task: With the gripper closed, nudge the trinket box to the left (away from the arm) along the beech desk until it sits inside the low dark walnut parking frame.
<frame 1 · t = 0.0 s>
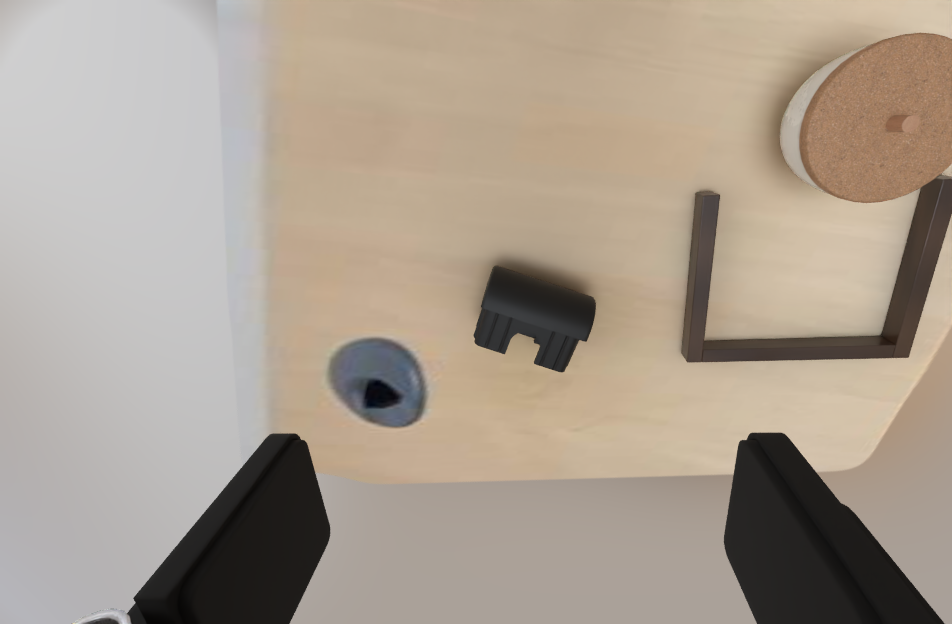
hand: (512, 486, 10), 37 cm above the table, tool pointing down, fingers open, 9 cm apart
end cap: (532, 301, 48), on the table
trinket box: (825, 122, 39), on the table
parking frame: (798, 273, 44), on the table
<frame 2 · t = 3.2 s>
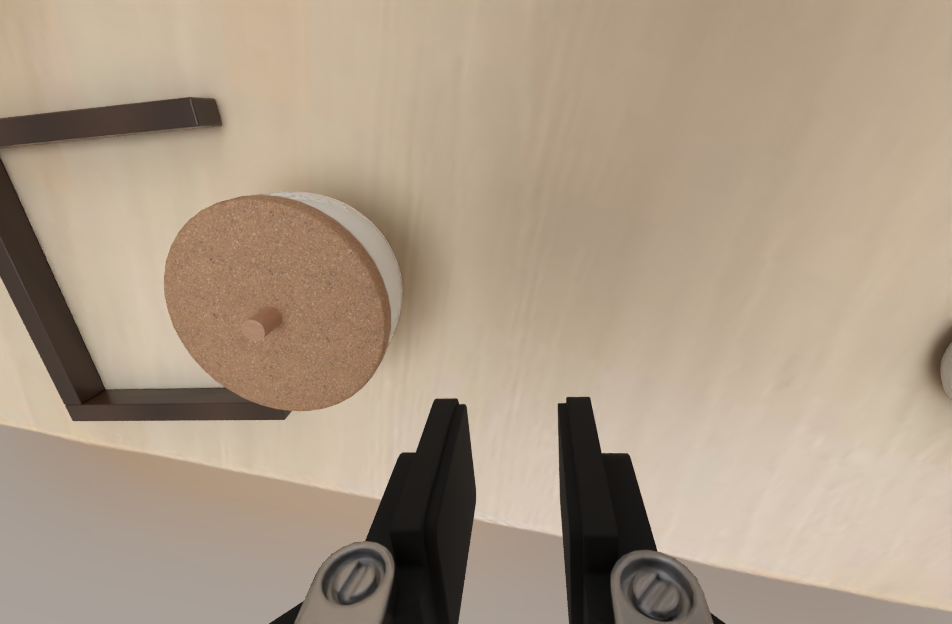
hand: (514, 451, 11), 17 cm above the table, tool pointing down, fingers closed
trinket box: (338, 265, 29), on the table
parking frame: (146, 276, 30), on the table
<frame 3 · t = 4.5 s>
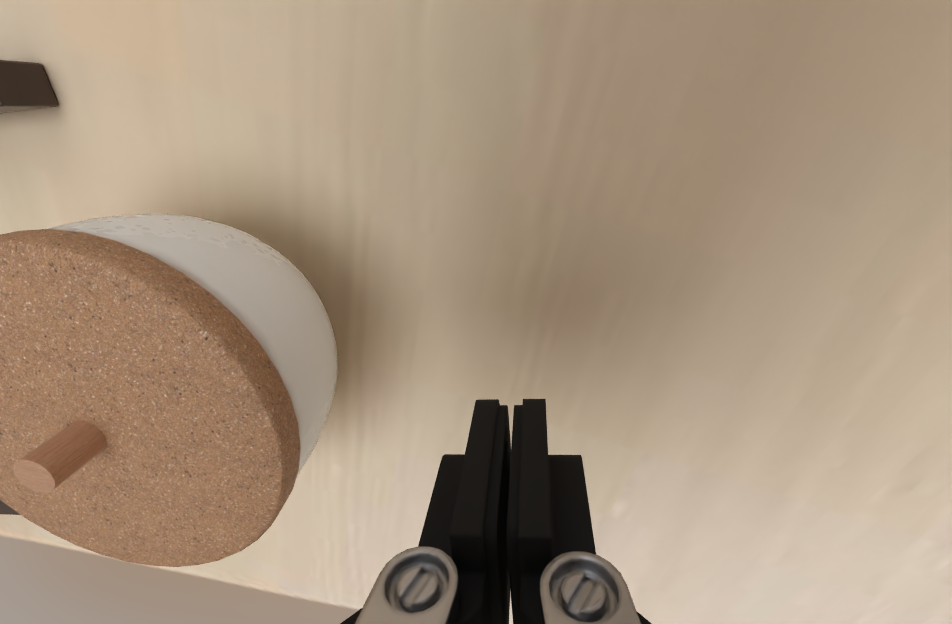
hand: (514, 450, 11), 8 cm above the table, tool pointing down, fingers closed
trinket box: (254, 312, 20), on the table
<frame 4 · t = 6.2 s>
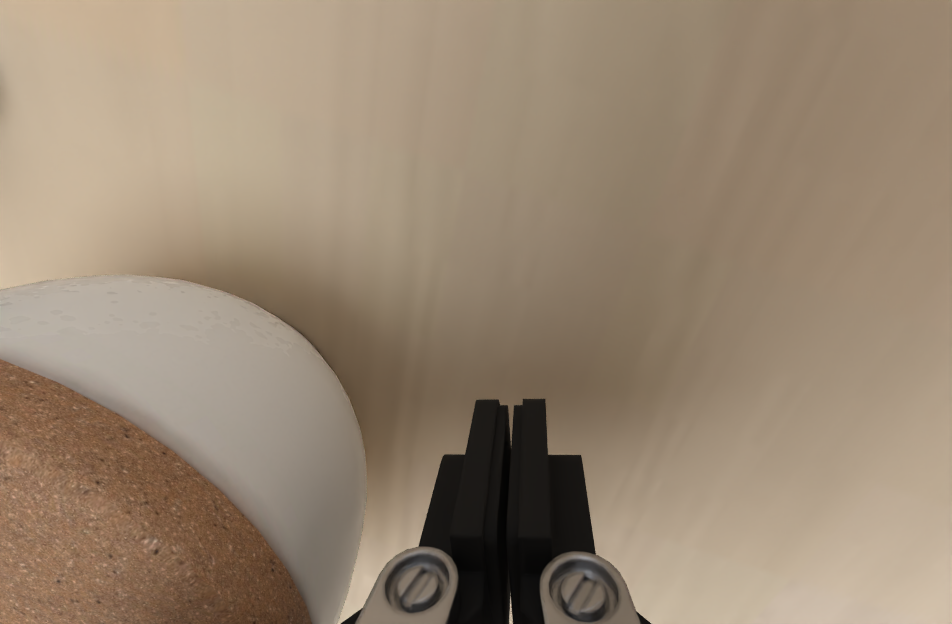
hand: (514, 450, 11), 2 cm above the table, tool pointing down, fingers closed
trinket box: (250, 389, 15), on the table, touching gripper
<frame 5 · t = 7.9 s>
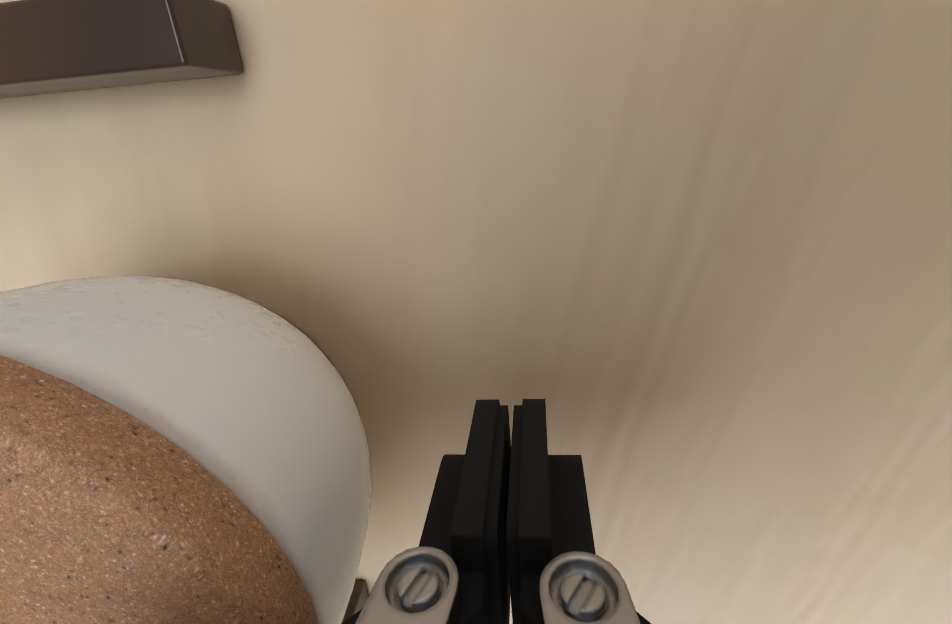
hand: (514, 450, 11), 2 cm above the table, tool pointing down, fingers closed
trinket box: (254, 389, 15), on the table, touching gripper
parking frame: (83, 385, 15), on the table
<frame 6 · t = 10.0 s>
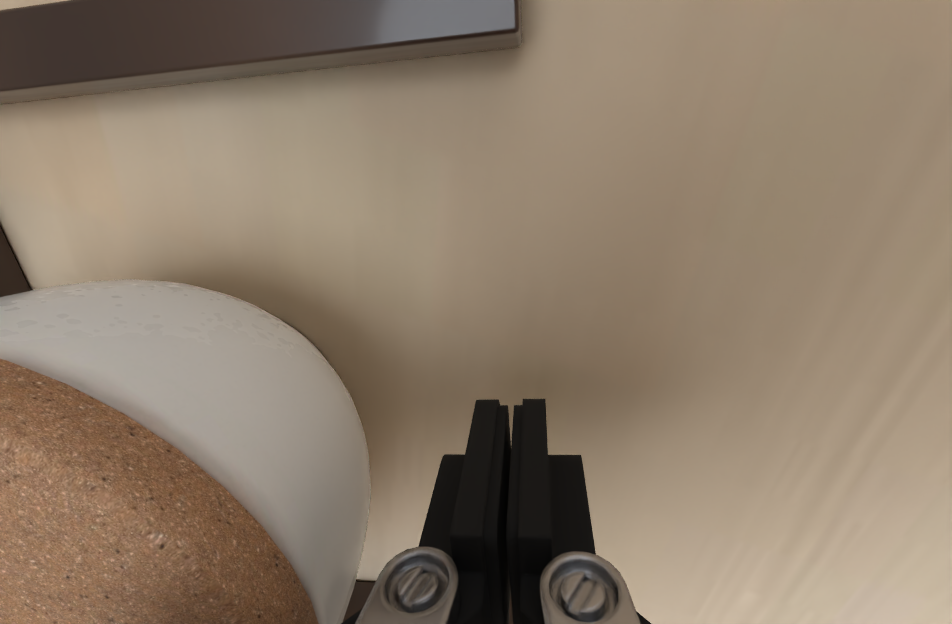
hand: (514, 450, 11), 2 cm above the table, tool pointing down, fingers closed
trinket box: (254, 391, 15), on the table, touching gripper
parking frame: (269, 387, 14), on the table
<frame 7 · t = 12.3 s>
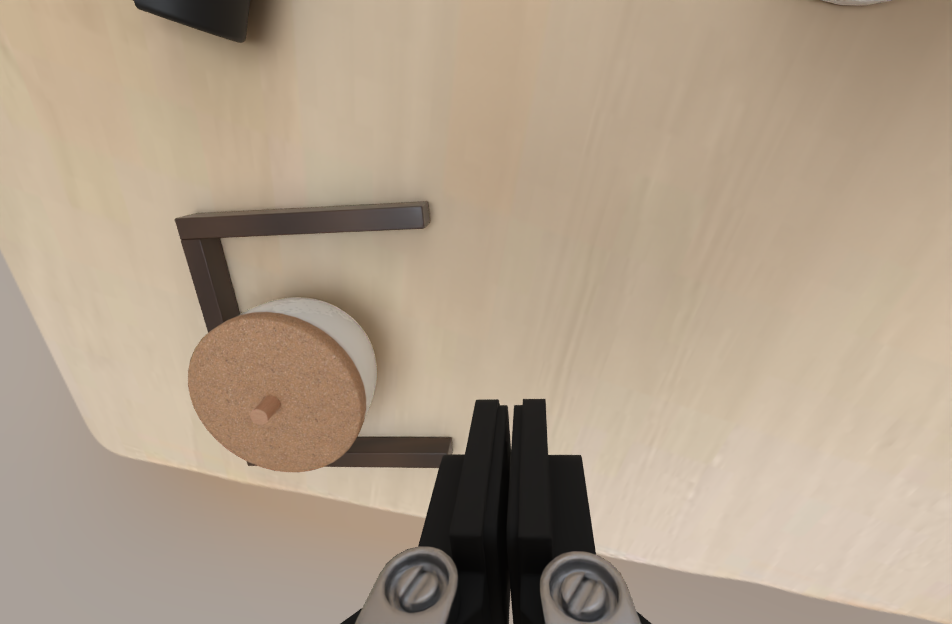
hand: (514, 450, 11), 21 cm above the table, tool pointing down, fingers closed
trinket box: (325, 344, 35), on the table
parking frame: (333, 341, 34), on the table
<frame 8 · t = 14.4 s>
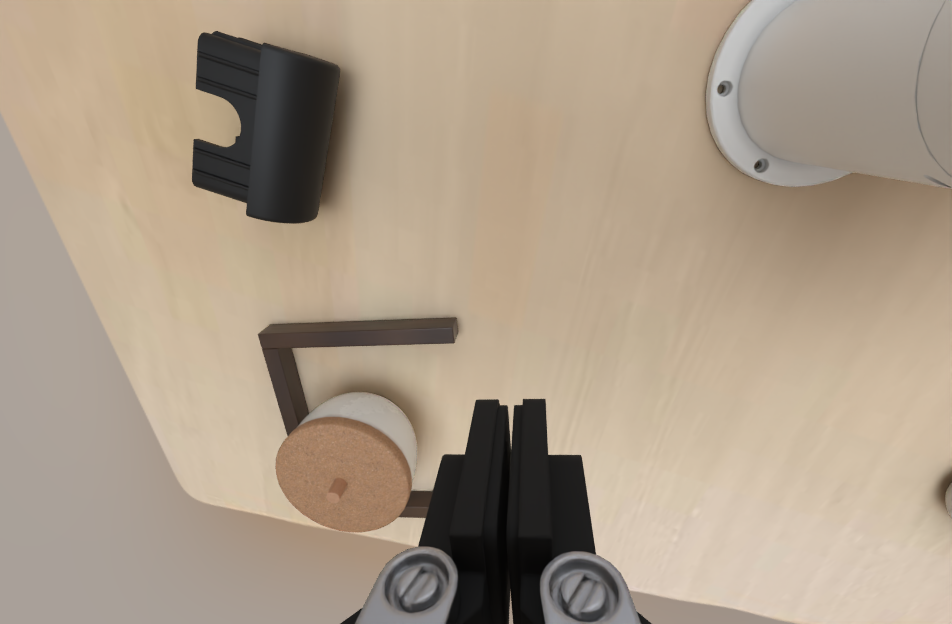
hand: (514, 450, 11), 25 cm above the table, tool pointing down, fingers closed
end cap: (300, 130, 34), on the table
trinket box: (373, 420, 43), on the table
parking frame: (380, 419, 43), on the table
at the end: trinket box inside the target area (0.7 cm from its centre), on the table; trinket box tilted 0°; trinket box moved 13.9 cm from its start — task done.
